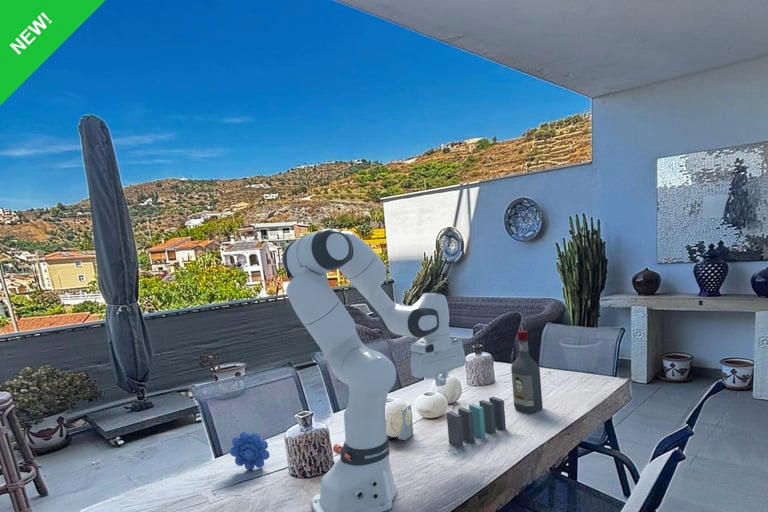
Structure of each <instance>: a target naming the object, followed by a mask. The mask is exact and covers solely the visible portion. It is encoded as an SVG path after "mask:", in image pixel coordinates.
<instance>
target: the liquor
mask: <svg viewBox="0 0 768 512" xmlns="http://www.w3.org/2000/svg"><path fill="white" fill-rule="evenodd" d="M528 336H529V335H528V331H527V330H518V331H517V341H518V357H517V358H516V359H515V360H514V361H513V362H512V363H511V366H510V369H511V382H512V396H513V406H514V408H515V410H516V411H517V412H521V413H525V414H536V413H537V412H539V411H542V409H543V407H544V406H543V394H542V384H541V383H542V382H541V380H542V379H541V370H540V369H541V368H540V366H539V364H538V363H537V362H536V361H535V360H534V359H533V358H532V357H531V355H530V353H529V352H530V351H529V341H528V340H529V337H528Z"/></svg>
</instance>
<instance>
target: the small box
mask: <svg viewBox="0 0 768 512" xmlns="http://www.w3.org/2000/svg"><path fill="white" fill-rule="evenodd" d="M406 404H407V403H406ZM407 408H408V410H409V409H410V411H411V415H412V404H407V407H406V408H404V409H402V410H401V411H402V415H403V424H402V431H401V434H400V435H399V436H398V440H403V441H407V440H408V439H409V438H410V437H411V436H412V435H414V426H413V425H414V424H413V418H412V419H411V424H410V426H409V427H408V426H407V425H406V421H405V415H406V410H407Z"/></svg>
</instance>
